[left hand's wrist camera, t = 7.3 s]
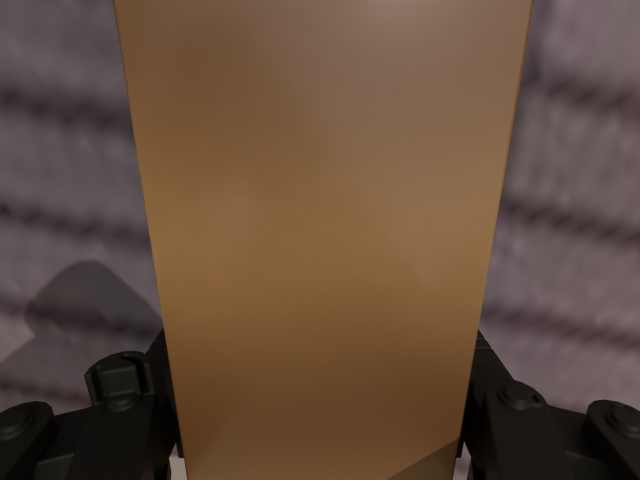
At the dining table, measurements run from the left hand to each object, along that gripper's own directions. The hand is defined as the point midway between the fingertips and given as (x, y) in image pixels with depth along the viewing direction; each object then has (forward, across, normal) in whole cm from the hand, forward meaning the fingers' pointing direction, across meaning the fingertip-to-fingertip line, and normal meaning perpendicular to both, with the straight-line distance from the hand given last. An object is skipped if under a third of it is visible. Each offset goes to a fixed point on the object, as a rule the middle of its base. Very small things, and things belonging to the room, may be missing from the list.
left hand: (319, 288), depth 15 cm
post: (+1, 0, -18) cm, 18 cm away
